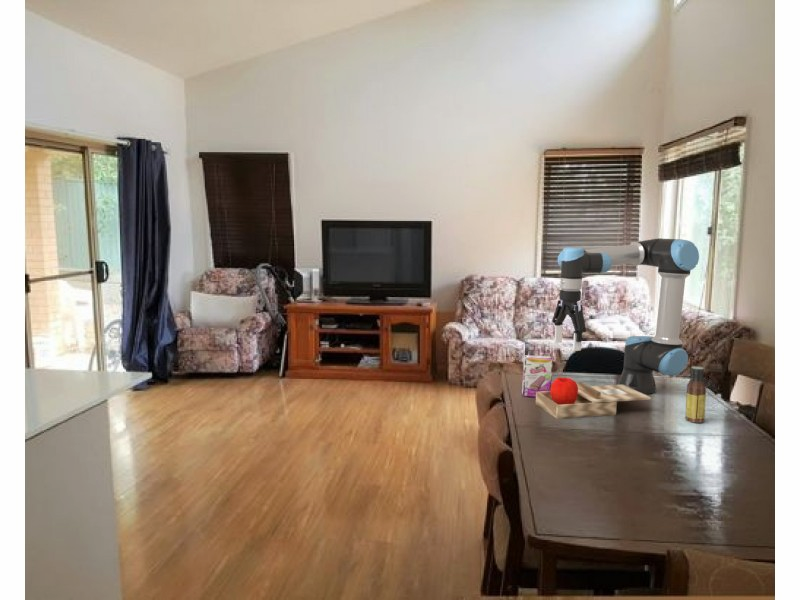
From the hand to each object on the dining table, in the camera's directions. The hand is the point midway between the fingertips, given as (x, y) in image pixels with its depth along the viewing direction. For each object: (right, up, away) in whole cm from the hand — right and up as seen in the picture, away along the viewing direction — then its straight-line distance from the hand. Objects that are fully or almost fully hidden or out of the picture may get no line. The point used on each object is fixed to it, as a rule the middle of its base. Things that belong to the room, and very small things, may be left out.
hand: (567, 346), depth 214 cm
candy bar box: (-7, -22, +20) cm, 31 cm away
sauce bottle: (+45, -27, -5) cm, 52 cm away
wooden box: (+4, -24, +4) cm, 25 cm away
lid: (+18, -19, +7) cm, 27 cm away
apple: (-1, -24, +3) cm, 24 cm away
